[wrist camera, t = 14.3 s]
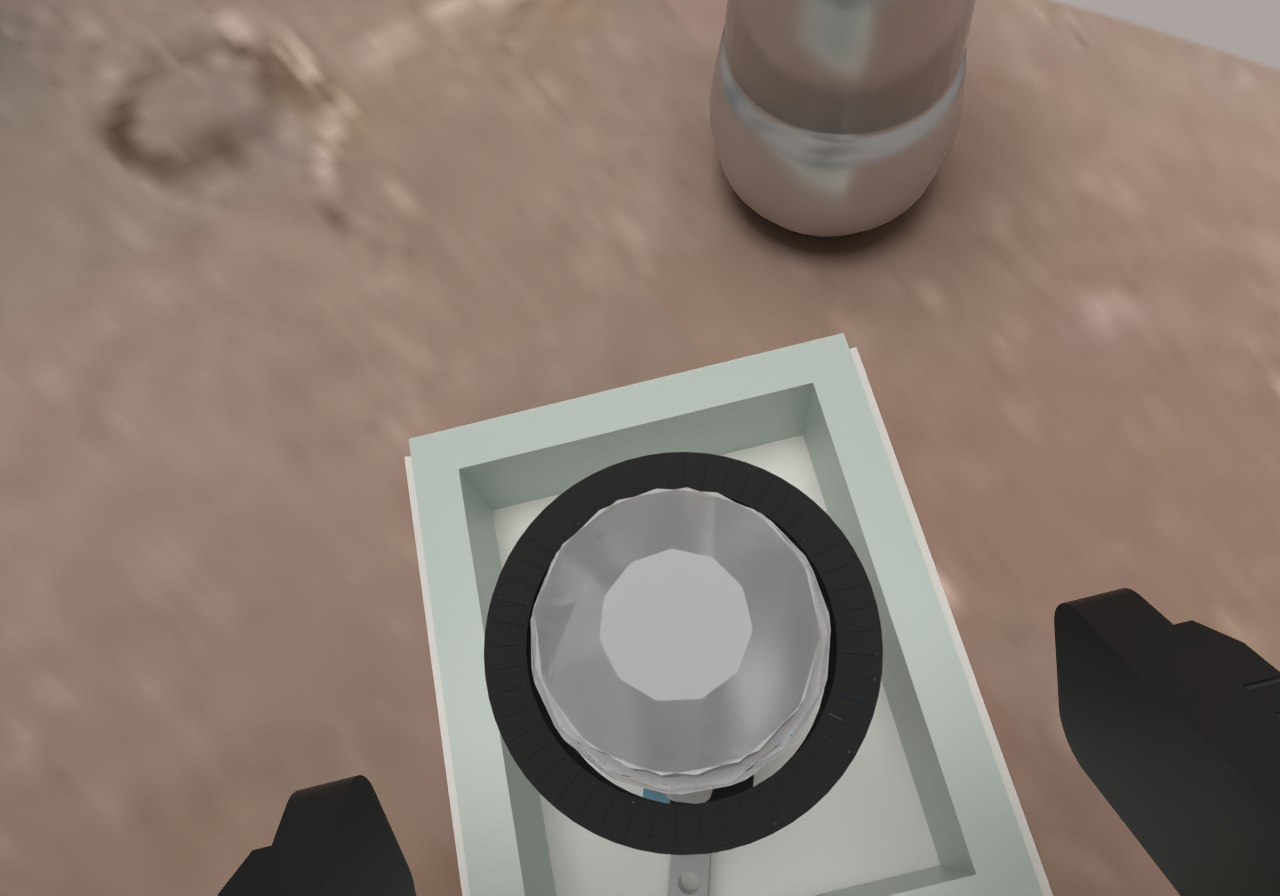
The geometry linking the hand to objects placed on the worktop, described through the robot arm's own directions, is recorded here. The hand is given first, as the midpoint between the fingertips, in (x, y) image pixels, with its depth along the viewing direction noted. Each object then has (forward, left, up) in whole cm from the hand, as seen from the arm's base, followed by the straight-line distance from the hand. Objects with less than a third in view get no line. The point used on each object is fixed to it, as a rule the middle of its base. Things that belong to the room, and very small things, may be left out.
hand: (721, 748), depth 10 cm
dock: (0, +2, -11) cm, 11 cm away
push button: (0, +1, -10) cm, 11 cm away
